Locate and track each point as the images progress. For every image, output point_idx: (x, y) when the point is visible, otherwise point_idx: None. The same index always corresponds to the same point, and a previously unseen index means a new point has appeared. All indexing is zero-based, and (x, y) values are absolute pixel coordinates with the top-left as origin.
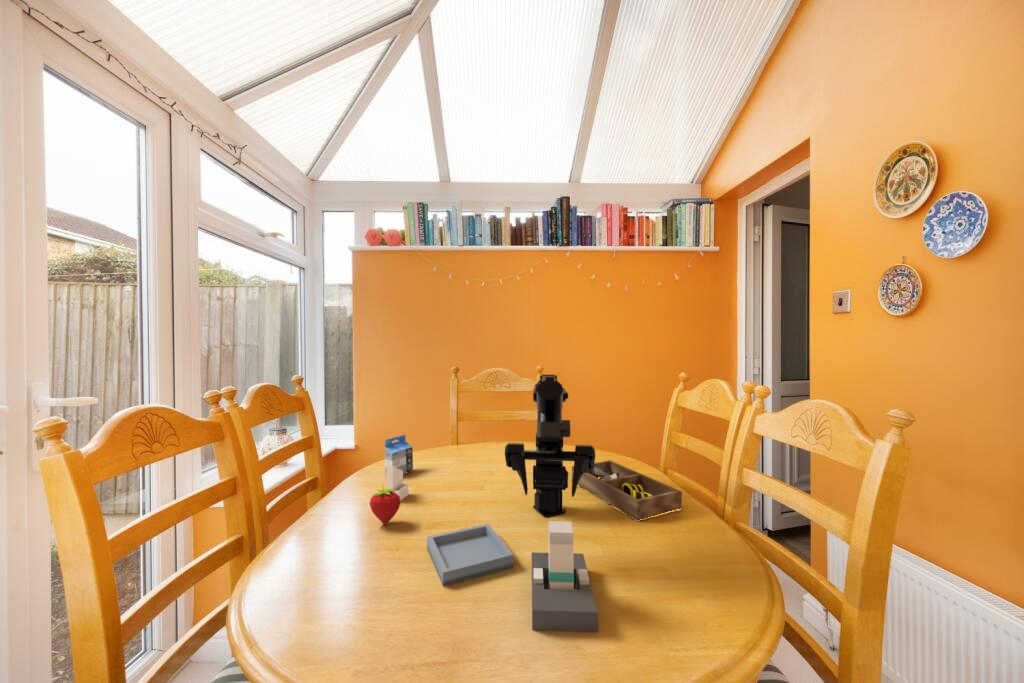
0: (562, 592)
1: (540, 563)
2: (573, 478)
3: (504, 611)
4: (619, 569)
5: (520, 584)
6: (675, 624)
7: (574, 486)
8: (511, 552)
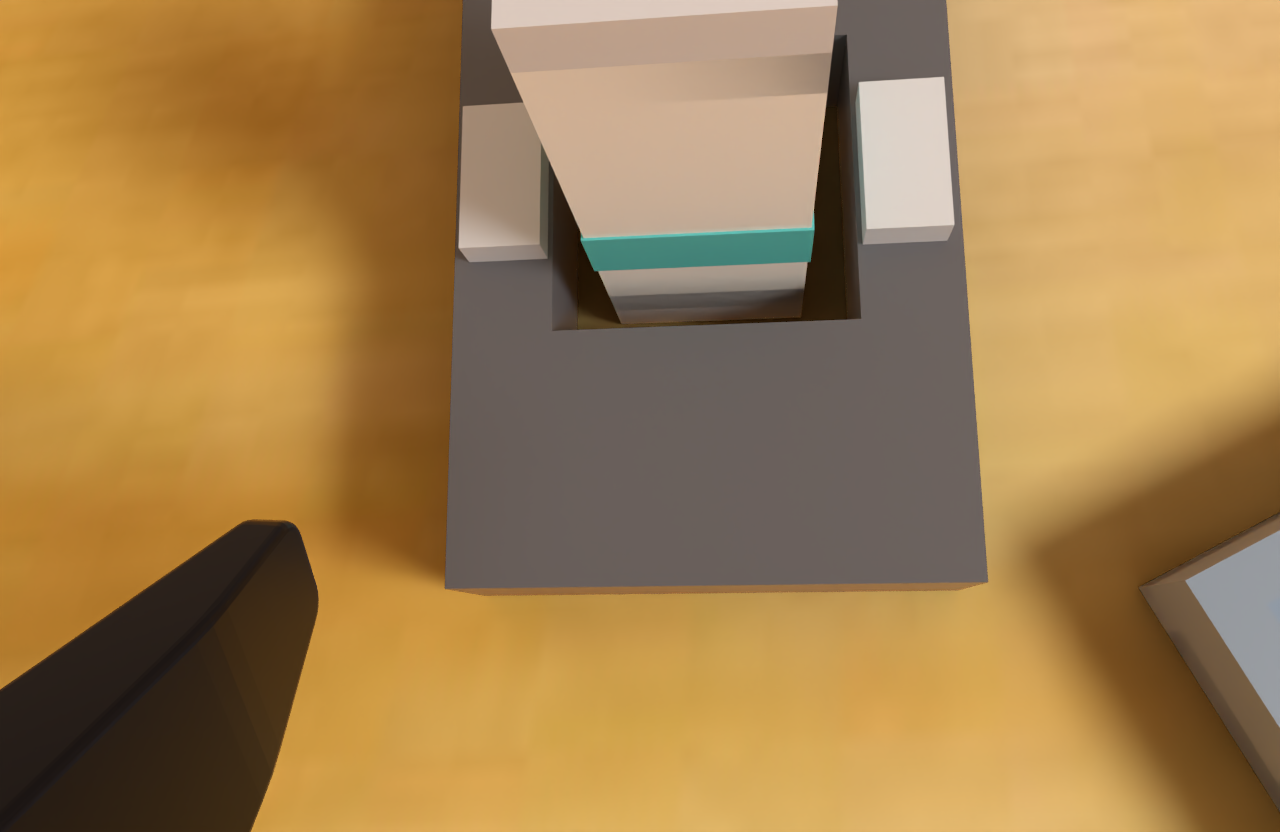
0: None
1: (885, 385)
2: (24, 780)
3: (1127, 42)
4: None
5: (1040, 347)
6: (24, 51)
7: (142, 614)
8: (1214, 619)
